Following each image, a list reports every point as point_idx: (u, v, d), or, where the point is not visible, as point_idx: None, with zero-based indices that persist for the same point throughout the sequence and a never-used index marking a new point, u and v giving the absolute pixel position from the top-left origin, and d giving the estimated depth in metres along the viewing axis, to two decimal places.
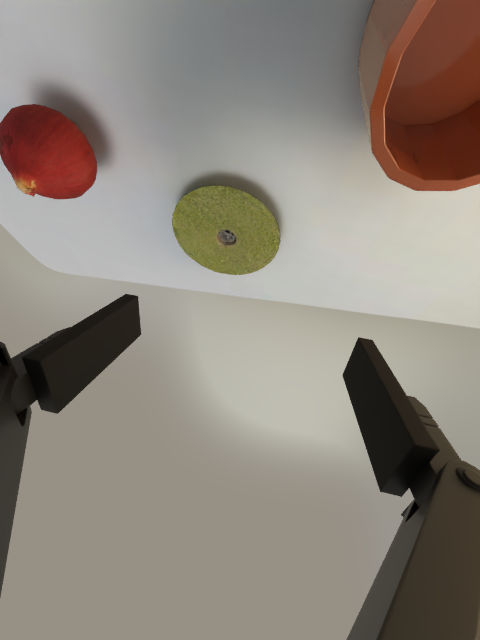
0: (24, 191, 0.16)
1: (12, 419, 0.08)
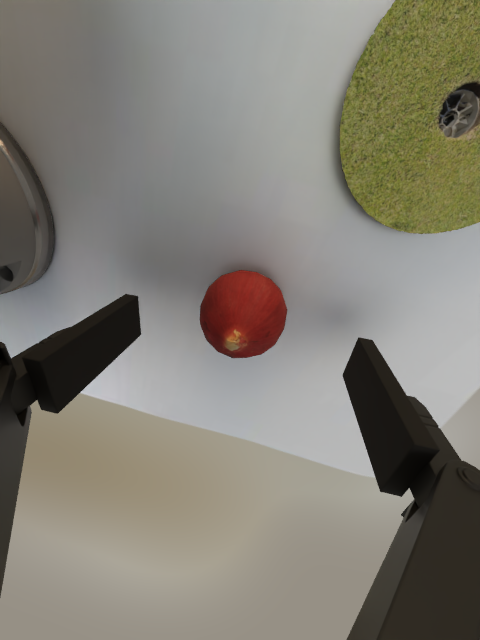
0: (235, 345, 0.12)
1: (12, 419, 0.08)
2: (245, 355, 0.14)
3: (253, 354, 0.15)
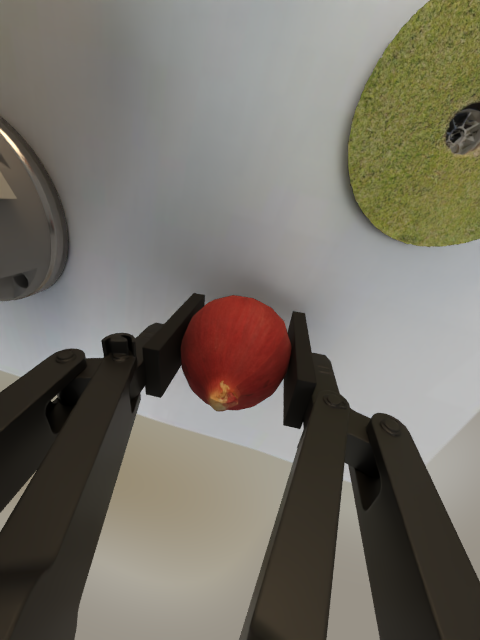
0: (222, 406, 0.09)
1: (127, 407, 0.09)
2: (237, 409, 0.11)
3: (247, 407, 0.11)
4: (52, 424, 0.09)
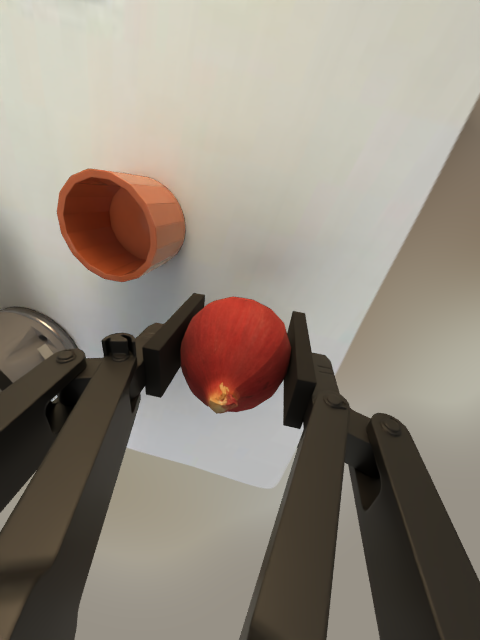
0: (221, 408, 0.09)
1: (126, 407, 0.09)
2: (236, 410, 0.11)
3: (247, 409, 0.11)
4: (52, 424, 0.09)
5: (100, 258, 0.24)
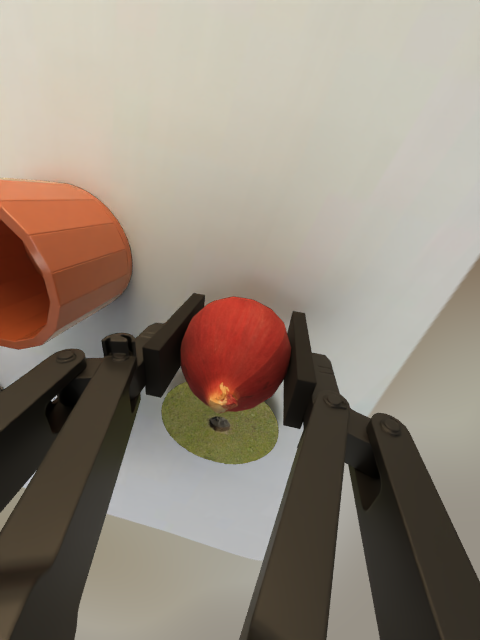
0: (221, 408, 0.09)
1: (127, 407, 0.09)
2: (236, 410, 0.11)
3: (247, 408, 0.11)
4: (52, 424, 0.09)
5: None
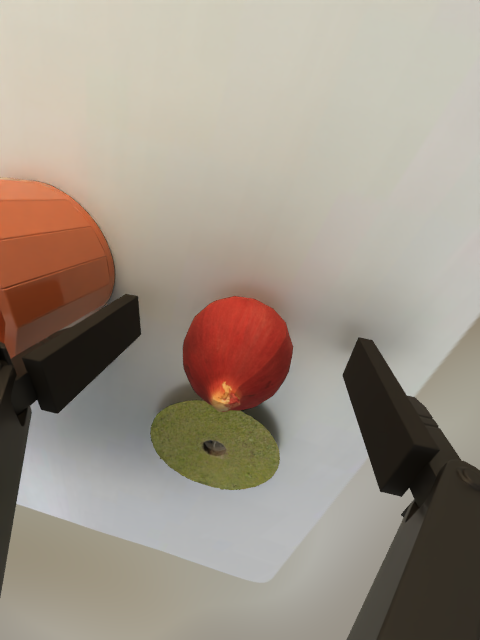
0: (224, 407, 0.09)
1: (12, 419, 0.08)
2: (239, 409, 0.11)
3: (249, 407, 0.11)
4: None
5: None
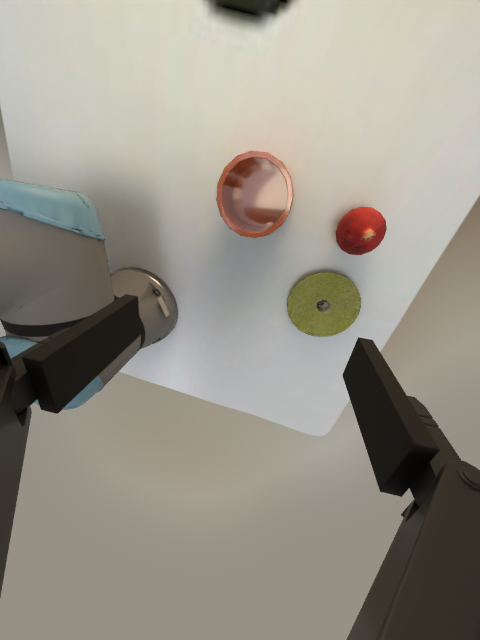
0: (371, 233, 0.27)
1: (12, 419, 0.08)
2: (367, 246, 0.29)
3: (371, 246, 0.30)
4: None
5: (233, 221, 0.32)
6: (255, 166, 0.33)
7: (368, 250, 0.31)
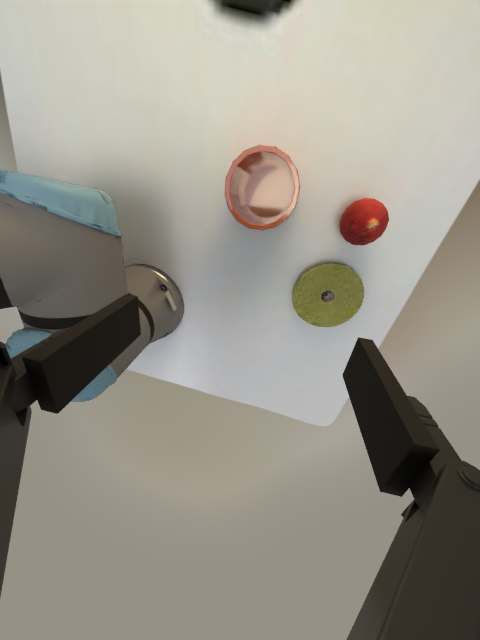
0: (375, 223, 0.29)
1: (12, 419, 0.08)
2: (371, 235, 0.31)
3: (374, 236, 0.31)
4: None
5: (241, 214, 0.33)
6: (260, 161, 0.34)
7: (371, 240, 0.32)
